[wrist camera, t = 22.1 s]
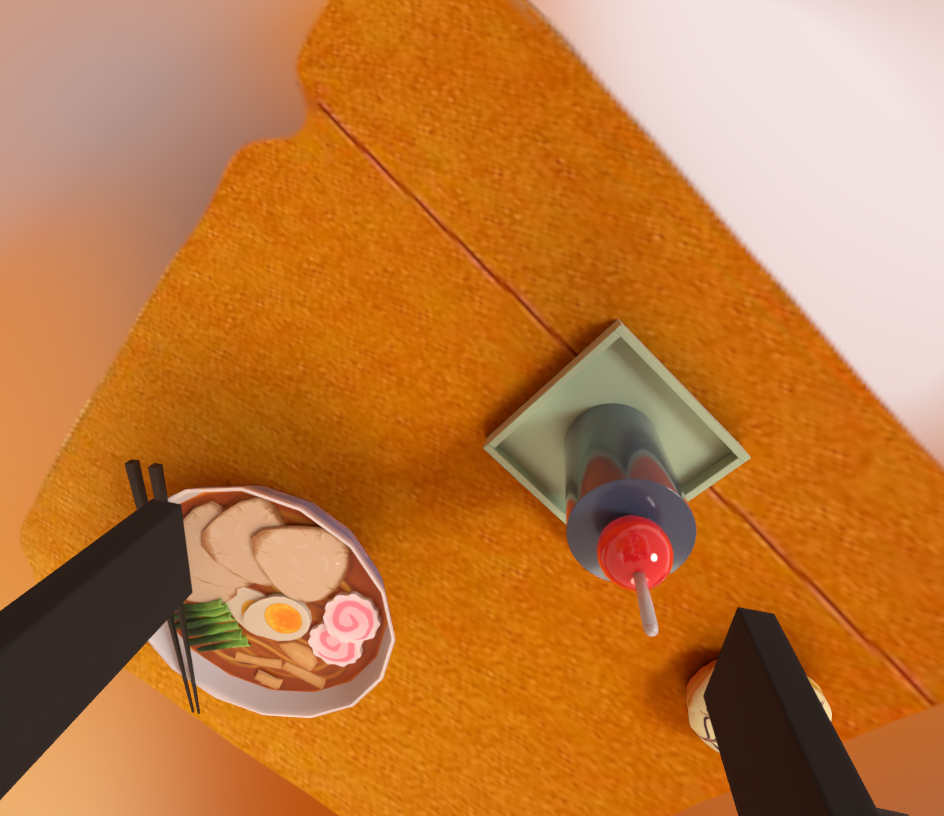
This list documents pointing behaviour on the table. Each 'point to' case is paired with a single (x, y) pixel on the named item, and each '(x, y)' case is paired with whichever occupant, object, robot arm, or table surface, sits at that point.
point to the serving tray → (602, 382)
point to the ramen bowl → (272, 602)
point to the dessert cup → (625, 503)
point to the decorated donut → (699, 711)
